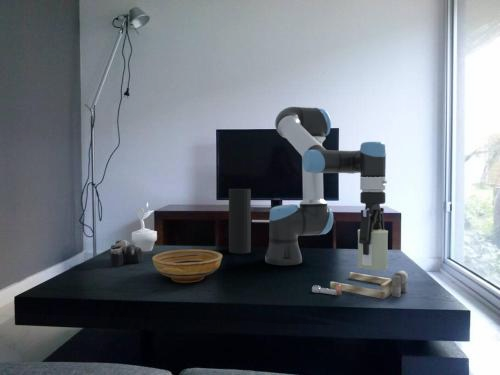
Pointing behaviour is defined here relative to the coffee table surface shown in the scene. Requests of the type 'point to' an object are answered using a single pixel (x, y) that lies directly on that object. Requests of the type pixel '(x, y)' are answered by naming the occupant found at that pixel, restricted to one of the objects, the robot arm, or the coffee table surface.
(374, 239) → the can
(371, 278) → the wooden frame
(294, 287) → the coffee table surface
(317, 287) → the crank handle
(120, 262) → the camera
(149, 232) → the potted plant
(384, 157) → the robot arm
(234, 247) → the vase
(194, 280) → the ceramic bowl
